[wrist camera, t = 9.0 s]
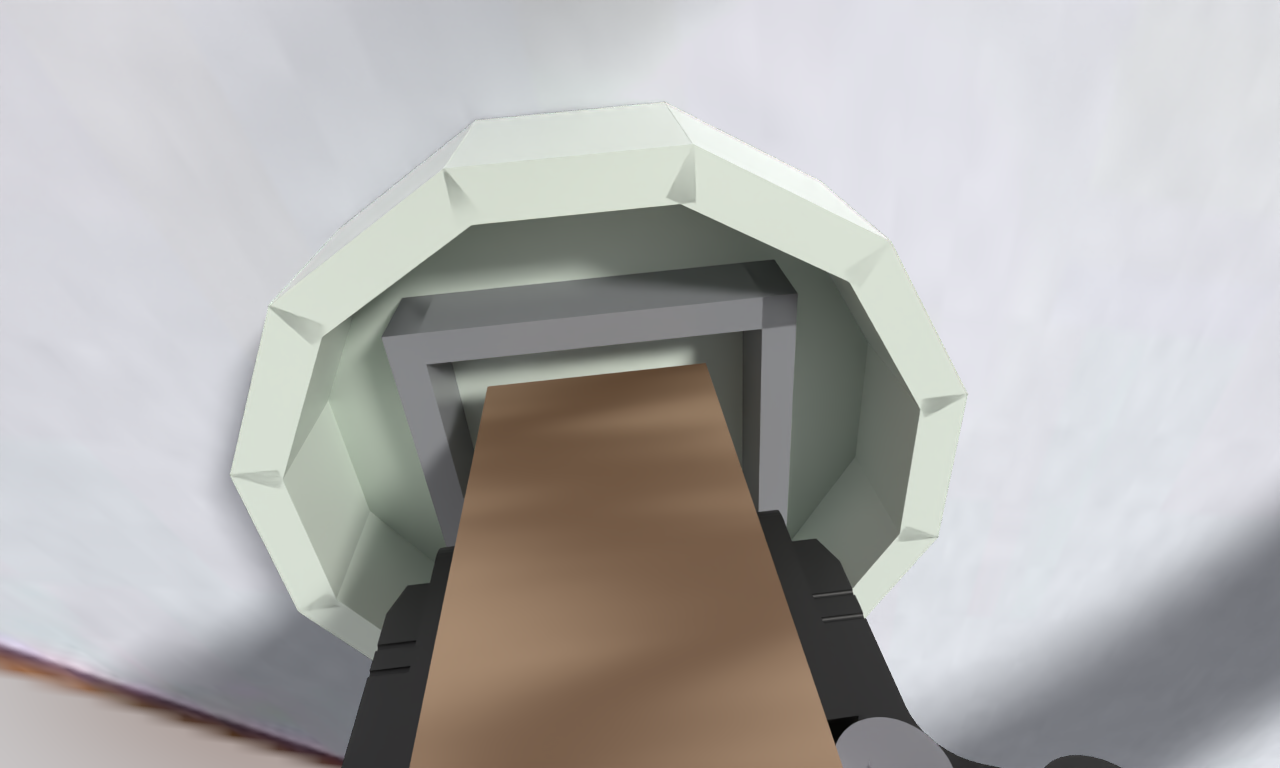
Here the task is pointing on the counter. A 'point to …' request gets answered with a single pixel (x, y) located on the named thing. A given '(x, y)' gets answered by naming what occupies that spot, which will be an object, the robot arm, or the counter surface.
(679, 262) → the pale green faceted dish
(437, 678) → the brown wooden block
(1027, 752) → the counter surface
